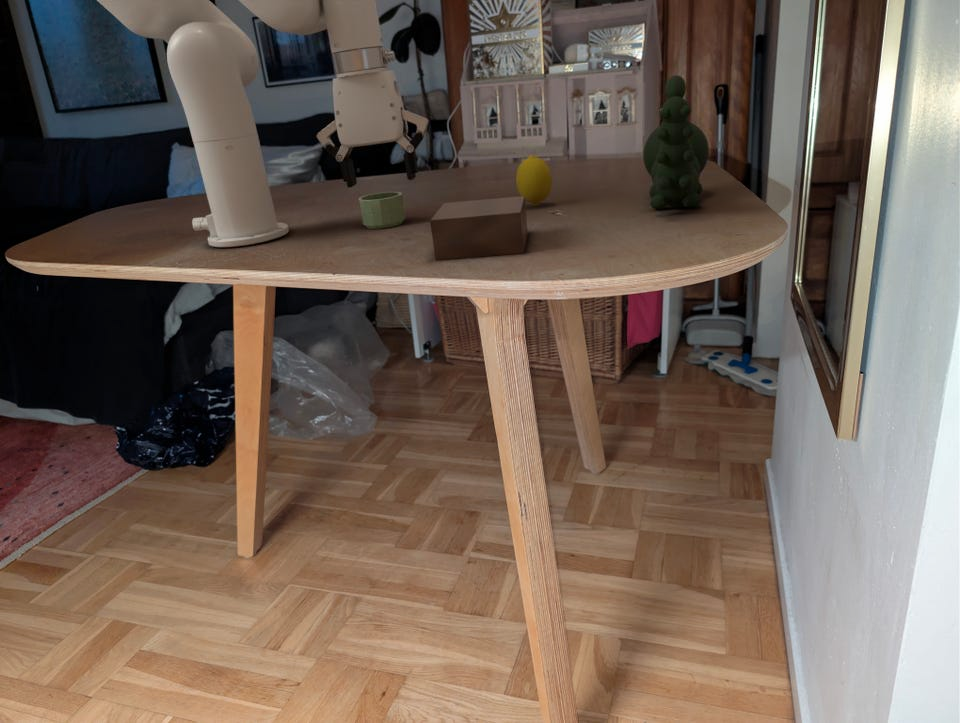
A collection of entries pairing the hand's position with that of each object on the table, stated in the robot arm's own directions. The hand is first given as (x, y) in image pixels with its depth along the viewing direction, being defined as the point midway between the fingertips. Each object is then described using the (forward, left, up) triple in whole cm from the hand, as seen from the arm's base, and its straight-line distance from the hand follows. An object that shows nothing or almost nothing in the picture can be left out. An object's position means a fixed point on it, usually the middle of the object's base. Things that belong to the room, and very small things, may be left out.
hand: (382, 182), depth 109 cm
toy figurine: (+44, -3, -7) cm, 45 cm away
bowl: (-1, 0, -7) cm, 7 cm away
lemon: (+23, +4, -7) cm, 25 cm away
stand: (+17, -20, -7) cm, 27 cm away
